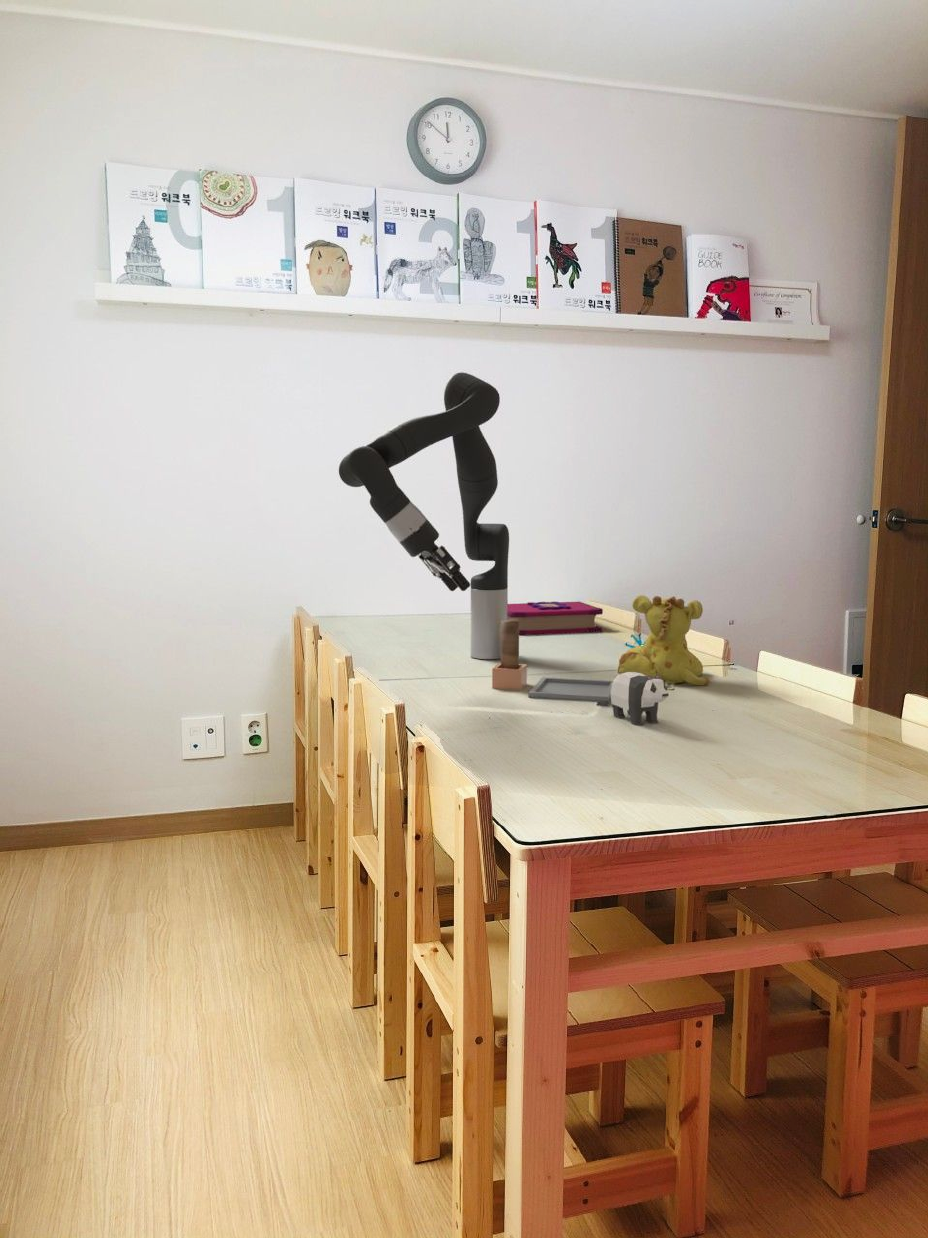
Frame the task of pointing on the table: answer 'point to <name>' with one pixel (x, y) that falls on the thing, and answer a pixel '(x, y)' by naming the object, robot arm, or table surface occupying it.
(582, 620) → the book
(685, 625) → the giraffe plush
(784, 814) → the table surface
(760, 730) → the table surface
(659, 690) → the giant panda
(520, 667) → the pencil cup
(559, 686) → the tray
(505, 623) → the dowel
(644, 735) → the table surface
